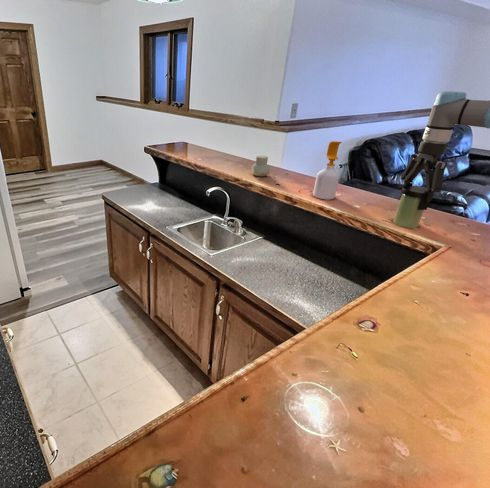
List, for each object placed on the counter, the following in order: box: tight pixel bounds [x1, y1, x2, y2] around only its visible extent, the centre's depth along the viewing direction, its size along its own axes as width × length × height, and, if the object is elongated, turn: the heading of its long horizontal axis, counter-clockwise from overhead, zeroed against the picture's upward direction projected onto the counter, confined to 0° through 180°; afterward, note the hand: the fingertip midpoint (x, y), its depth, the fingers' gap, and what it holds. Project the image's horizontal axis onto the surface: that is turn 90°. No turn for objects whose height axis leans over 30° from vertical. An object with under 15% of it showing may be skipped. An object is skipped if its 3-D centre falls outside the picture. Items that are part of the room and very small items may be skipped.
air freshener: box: [250, 155, 271, 177], centre depth 186 cm, size 11×8×10 cm
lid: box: [400, 185, 427, 198], centre depth 125 cm, size 9×9×2 cm
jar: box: [392, 194, 425, 229], centre depth 128 cm, size 8×8×13 cm
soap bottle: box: [312, 140, 343, 201], centre depth 152 cm, size 9×9×25 cm
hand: (412, 204), depth 127 cm, fingers closed on lid, 9 cm apart
